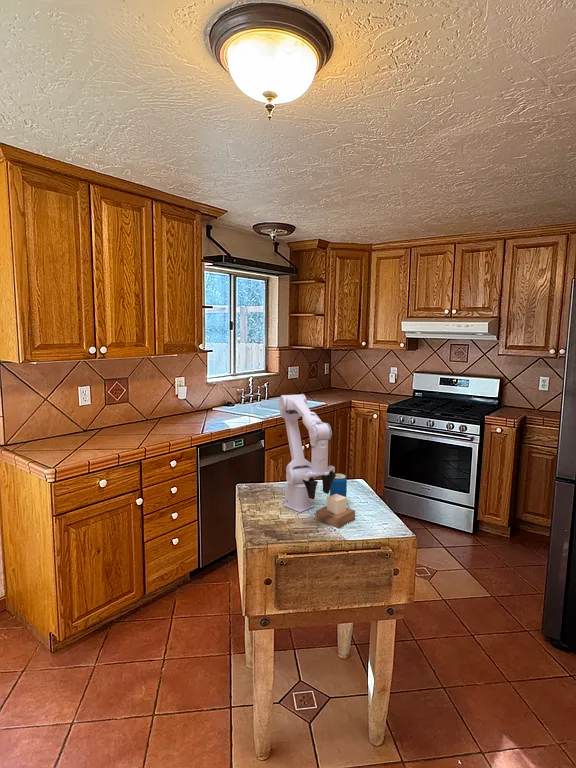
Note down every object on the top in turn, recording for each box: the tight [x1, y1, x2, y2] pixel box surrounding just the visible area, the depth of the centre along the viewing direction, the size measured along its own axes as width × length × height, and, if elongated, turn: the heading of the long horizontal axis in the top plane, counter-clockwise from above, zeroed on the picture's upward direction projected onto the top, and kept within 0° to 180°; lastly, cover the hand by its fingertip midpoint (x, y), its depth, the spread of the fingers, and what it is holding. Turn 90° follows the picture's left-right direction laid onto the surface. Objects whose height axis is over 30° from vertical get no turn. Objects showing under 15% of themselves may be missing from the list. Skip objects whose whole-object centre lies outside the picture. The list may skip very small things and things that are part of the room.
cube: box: [326, 494, 348, 515], centre depth 163 cm, size 5×5×5 cm
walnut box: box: [315, 505, 356, 529], centre depth 163 cm, size 10×10×4 cm
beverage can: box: [329, 473, 348, 497], centre depth 176 cm, size 6×6×12 cm
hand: (318, 495), depth 159 cm, fingers open, 7 cm apart
